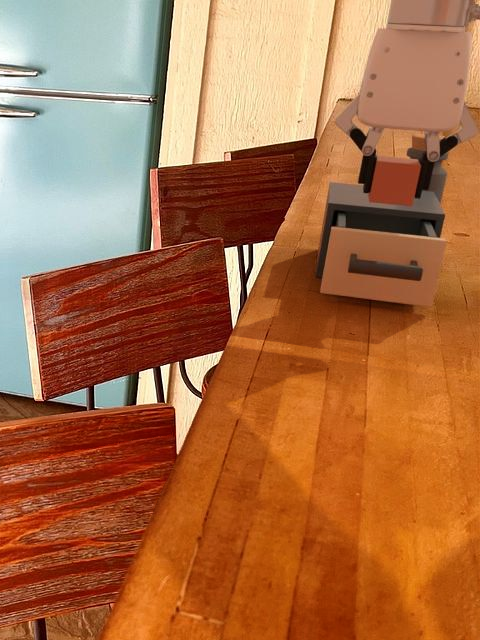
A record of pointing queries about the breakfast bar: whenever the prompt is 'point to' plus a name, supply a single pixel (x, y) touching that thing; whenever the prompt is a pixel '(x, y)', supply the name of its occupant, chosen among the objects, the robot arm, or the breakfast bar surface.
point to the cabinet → (372, 212)
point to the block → (394, 181)
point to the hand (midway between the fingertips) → (391, 191)
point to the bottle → (438, 172)
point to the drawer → (383, 258)
